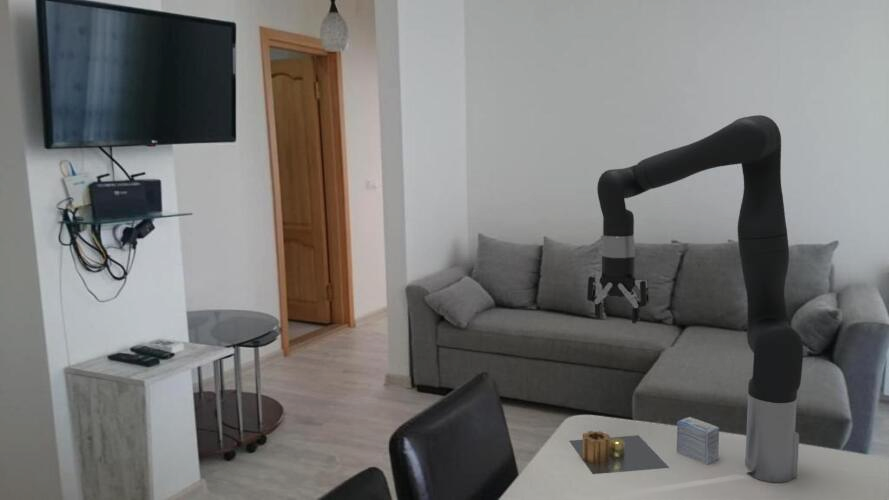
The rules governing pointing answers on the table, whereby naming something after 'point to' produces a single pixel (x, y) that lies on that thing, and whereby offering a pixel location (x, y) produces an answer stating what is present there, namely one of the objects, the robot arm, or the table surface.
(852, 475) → the table surface
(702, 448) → the medicine box
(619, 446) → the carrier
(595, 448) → the planet gear
